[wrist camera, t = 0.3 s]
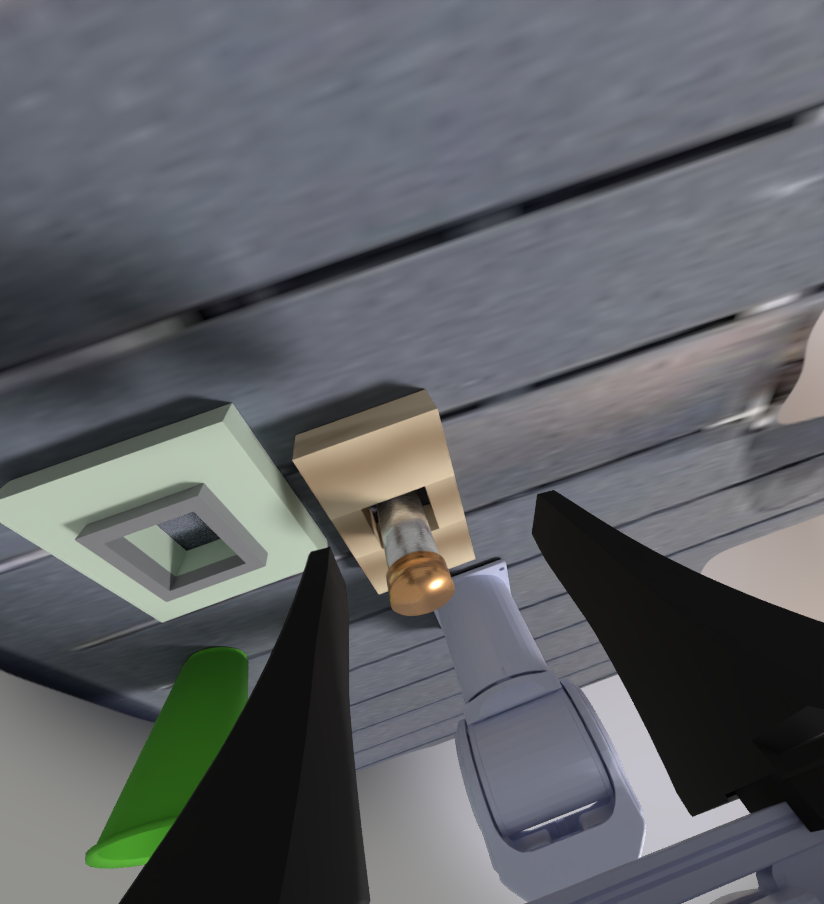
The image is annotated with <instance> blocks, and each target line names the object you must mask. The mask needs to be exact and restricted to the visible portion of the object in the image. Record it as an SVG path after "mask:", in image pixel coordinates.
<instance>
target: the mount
mask: <svg viewBox="0 0 824 904" xmlns="http://www.w3.org/2000/svg"><path fill="white" fill-rule="evenodd" d="M292 461H293V462H294V464H295V465H296V467H297V468H298V470H299V472H300V473H301V475H302V476H303V478H304V479H305V481H306V482H307V484H308V486H309V487H310V489H311V490H312V492H313V493H314V495H315V496H316V498H317V499H318V501H319V503H320V504H321V506H322V507H323V509H324V510H325V512H326V513H327V515H328V517H329V518H330V520H331V521H332V523H333V524H334V526H335V527H336V529H337V531H338V532H339V534H340V535H341V537H342V538H343V540H344V541H345V543H346V545H347V546H348V548H349V549H350V551H351V552H352V554H353V555H354V557H355V558H356V560H357V562H358V563H359V565H360V566H361V568H362V569H363V571H364V572H365V574H366V576H367V577H368V579H369V580H370V582H371V583H372V585H373V586H374V588H375V590H376V591H377V593H378V594H382V593H384V592H387V591H388V587H387V581H386V573H387V571H388V566H387V561H386V556H385V550H384V545H383V540H382V534H381V529H380V524H379V522H378V523H377V522H376V520H375V518H374V516H373V514H372V512H371V510H370V508H369V506H372V505H374V504H377V503H380V502H383V501H385V500H388V499H391V498H394V497H396V496H399V495H402V494H405V493H407V492H410V491H413V490H416V489H419V488H421V487H424V488H425V491H426V494H427V496H428V499H429V502H430V504H428V505H425V506H422V507H423V510H424V513H425V516H426V518H427V521H428V524H429V527H430V530H431V533H432V535H433V538H434V541H435V544H436V547H437V550H438V552H439V555H441V556H442V557H443V558H444V559H445V561H446V564H447V567H448V569H450V568H452V567H455V566H458V565H460V564H463V563H466V562H469V561H471V560H474V559H475V555H474V551H473V547H472V543H471V540H470V536H469V532H468V528H467V524H466V520H465V516H464V512H463V508H462V504H461V500H460V496H459V492H458V488H457V484H456V480H455V476H454V472H453V468H452V464H451V460H450V456H449V452H448V448H447V444H446V440H445V436H444V433H443V429H442V425H441V421H440V417H439V413H438V409H437V407H436V405H435V404H434V402H433V401H432V399H431V397H430V396H429V394H428V393H427V391H426V389H425V390H422V391H419V392H416V393H413V394H411V395H408V396H405V397H402V398H399V399H397V400H394V401H391V402H388V403H385V404H382V405H380V406H377V407H374V408H371V409H368V410H366V411H363V412H360V413H357V414H354V415H351V416H349V417H346V418H343V419H340V420H337V421H335V422H332V423H329V424H326V425H323V426H320V427H318V428H315V429H312V430H309V431H306V432H304V433H301V434H298V435H296V436H295V443H294V451H293V458H292Z"/></svg>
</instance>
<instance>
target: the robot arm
mask: <svg viewBox="0 0 824 904" xmlns="http://www.w3.org/2000/svg"><path fill="white" fill-rule="evenodd" d="M532 535H533V537H534V539H535V541H536V543H537V545H538V547H539V549H540V551H541V552H542V554H543V556H544V558H545V560H546V561H547V563H548V564H549V566H550V567H551V569H552V570H553V572H554V573H555V575H556V576H557V578H558V579H559V581H560V582H561V583H562V585H563V586H564V588H565V589H566V591H567V592H568V593H569V595H570V596H571V598H572V599H573V601H574V602H575V604H576V605H577V606H578V608H579V609H580V611H581V612H582V614H583V615H584V617H585V618H586V620H587V621H588V623H589V624H590V626H591V627H592V629H593V630H594V632H595V634H596V635H597V637H598V639H599V641H600V643H601V644H602V646H603V648H604V650H605V651H606V653H607V655H608V657H609V658H610V660H611V662H612V664H613V666H614V667H615V669H616V671H617V673H618V675H619V677H620V678H621V680H622V682H623V684H624V686H625V688H626V689H627V691H628V693H629V695H630V697H631V699H632V701H633V703H634V705H635V707H636V709H637V711H638V713H639V715H640V717H641V719H642V721H643V723H644V725H645V727H646V729H647V730H648V733H649V734H650V737H651V739H652V741H653V743H654V745H655V747H656V749H657V752H658V754H659V756H660V758H661V760H662V762H663V764H664V766H665V768H666V770H667V772H668V775H669V777H670V779H671V781H672V784H673V786H674V788H675V790H676V793H677V794H678V796H679V797H680V799H681V801H682V802H683V804H684V805H685V807H686V808H687V810H688V812H689V813H690V815H692V817H693V816H696V815H698V814H701V813H703V812H706V811H709V810H711V809H714V808H716V807H719V806H721V805H724V804H726V803H729V802H732V801H734V800H737V799H740V800H741V801H742V803H743V804H744V805H745V807H746V808H747V810H748V811H749V812H750V814H749V815H746V816H744V817H741V818H738V819H736V820H734V821H731V822H729V823H726V824H724V825H721V826H718V827H716V828H713V829H711V830H708V831H706V832H703V833H701V834H698V835H696V836H693V837H691V838H688V839H686V840H683V841H681V842H678V843H676V844H674V845H671V846H668V847H666V848H664V849H661V850H658V851H656V852H653V853H651V854H648V855H646V856H643V857H641V855H642V850H643V846H644V842H645V836H646V823H645V821H644V819H643V810H642V807H641V805H640V803H639V801H638V799H637V797H636V795H635V793H634V791H633V790H632V787H631V785H630V784H629V781H628V779H627V777H626V774H625V771H624V768H623V766H622V763H621V760H620V758H619V756H618V754H617V752H616V750H615V747H614V745H613V743H612V741H611V739H610V737H609V735H608V733H607V731H606V729H605V728H604V726H603V724H602V722H601V720H600V719H599V717H598V715H597V713H596V712H595V710H594V708H593V707H592V705H591V703H590V702H589V700H588V699H587V697H586V696H585V694H584V693H583V692H582V690H581V689H580V688H579V687H578V686H577V685H576V684H574V683H572V682H570V681H569V680H568V679H563V680H561V681H560V682H559V680H558V678H557V676H556V674H555V672H554V670H549V669H548V667H547V665H546V663H545V661H544V659H543V657H542V655H541V653H540V651H539V649H538V647H537V645H536V643H535V641H534V639H533V637H532V635H531V633H530V631H529V629H528V627H527V625H526V623H525V622H524V620H523V618H522V616H521V614H520V612H519V610H518V608H517V606H516V604H515V602H514V600H513V598H512V596H511V593H510V586H509V580H508V573H507V567H506V563H505V561H504V560H497V561H495V562H492V563H489V564H487V565H484V566H481V567H478V568H476V569H473V570H470V571H468V572H465V573H462V574H459V575H457V576H454V577H451V578H452V580H453V583H454V586H455V591H454V594H453V596H452V598H451V599H450V600H449V601H448V602H447V603H446V604H445V605H443V606H442V607H440V608H439V609H437V610H435V611H434V613H435V615H436V617H437V619H438V622H439V624H440V626H441V628H442V630H443V632H444V634H445V637H446V641H447V644H448V647H449V651H450V654H451V657H452V661H453V664H454V667H455V671H456V674H457V678H458V681H459V684H460V688H461V691H462V694H463V698H464V701H465V704H464V705H462V709H463V713H464V716H465V719H463V720H460V721H459V722H458V728H457V731H456V734H455V742H456V750H457V755H458V760H459V765H460V769H461V773H462V777H463V781H464V785H465V788H466V792H467V795H468V798H469V801H470V804H471V807H472V810H473V813H474V816H475V818H476V821H477V823H478V825H479V827H480V829H481V831H482V834H483V837H484V840H485V843H486V846H487V849H488V852H489V856H490V859H491V862H492V866H493V868H494V870H495V871H496V872H497V873H498V874H499V877H500V880H501V882H502V883H503V884H504V885H505V886H506V887H507V888H508V889H509V890H511V891H512V892H514V893H515V894H517V895H518V896H519V897H521V898H522V899H524V900H525V901H527V902H528V903H525V904H681V903H684V902H686V901H688V900H691V899H693V898H695V897H698V896H700V895H702V894H705V893H707V892H709V891H712V890H714V889H716V888H719V887H721V886H724V885H726V884H729V883H731V882H733V881H735V880H738V879H740V878H743V877H745V876H747V875H750V874H752V873H754V872H756V877H757V880H758V884H759V887H758V889H751V890H745V891H740V892H735V893H731V894H728V895H726V896H723V897H720V898H718V899H716V900H715V901H713V902H712V903H710V904H824V623H823V622H820V621H817V620H814V619H811V618H809V617H806V616H803V615H801V614H798V613H795V612H792V611H789V610H787V609H784V608H782V607H779V606H776V605H774V604H771V603H768V602H766V601H763V600H761V599H758V598H755V597H753V596H750V595H748V594H746V593H743V592H741V591H739V590H736V589H734V588H731V587H729V586H727V585H724V584H722V583H720V582H717V581H715V580H713V579H711V578H708V577H706V576H704V575H702V574H699V573H697V572H695V571H693V570H691V569H689V568H687V567H685V566H683V565H681V564H679V563H677V562H675V561H673V560H671V559H669V558H667V557H665V556H663V555H661V554H659V553H657V552H655V551H653V550H652V549H650V548H648V547H646V546H644V545H642V544H641V543H639V542H637V541H635V540H633V539H632V538H630V537H628V536H627V535H625V534H623V533H621V532H620V531H618V530H616V529H615V528H613V527H611V526H610V525H608V524H606V523H605V522H603V521H602V520H600V519H598V518H597V517H595V516H594V515H592V514H590V513H589V512H587V511H586V510H584V509H583V508H581V507H580V506H578V505H576V504H575V503H573V502H572V501H570V500H569V499H567V498H566V497H564V496H562V495H561V494H559V493H558V492H556V491H554V490H552V491H548V492H544V493H540V494H537V500H536V507H535V514H534V521H533V528H532ZM596 801H597V802H596ZM594 802H596V803H595V804H593V805H592V806H591V807H589V808H587V809H584V810H581V811H579V812H576V813H574V814H571V815H569V816H566V817H564V818H561V819H559V820H556V821H553V822H551V823H548V824H546V825H543V826H541V827H538V828H536V829H533V830H530V831H523V830H525V829H528V828H530V827H533V826H536V825H538V824H540V823H543V822H546V821H548V820H551V819H553V818H555V817H558V816H561V815H563V814H566V813H569V812H571V811H574V810H576V809H579V808H581V807H583V806H586V805H589V804H591V803H594ZM369 903H370V894H369V886H368V879H367V870H366V862H365V854H364V845H363V837H362V828H361V819H360V810H359V801H358V792H357V782H356V771H355V761H354V751H353V740H352V728H351V717H350V702H349V613H348V603H347V595H346V586H345V582H344V579H343V577H342V574H341V572H340V570H339V567H338V565H337V562H336V560H335V558H334V555H333V553H332V550H331V548H330V547H327V548H323V549H319V550H315V551H311V552H310V554H309V555H308V559H307V562H306V565H305V569H304V572H303V575H302V578H301V581H300V584H299V586H298V589H297V592H296V595H295V598H294V600H293V603H292V605H291V608H290V610H289V613H288V616H287V618H286V621H285V623H284V626H283V628H282V630H281V632H280V635H279V637H278V639H277V641H276V644H275V646H274V648H273V650H272V653H271V655H270V657H269V659H268V661H267V664H266V666H265V668H264V670H263V672H262V674H261V676H260V678H259V680H258V682H257V684H256V686H255V688H254V690H253V691H252V693H251V695H250V697H249V699H248V701H247V703H246V705H245V707H244V708H243V710H242V712H241V714H240V716H239V717H238V719H237V721H236V723H235V724H234V726H233V728H232V730H231V732H230V733H229V735H228V737H227V739H226V740H225V742H224V744H223V745H222V747H221V749H220V751H219V752H218V754H217V756H216V757H215V759H214V760H213V762H212V764H211V765H210V767H209V768H208V770H207V772H206V773H205V775H204V776H203V778H202V780H201V781H200V783H199V784H198V786H197V788H196V789H195V791H194V792H193V794H192V795H191V797H190V799H189V800H188V802H187V803H186V805H185V807H184V808H183V810H182V811H181V813H180V814H179V816H178V817H177V819H176V820H175V822H174V823H173V825H172V827H171V828H170V829H169V831H168V832H167V834H166V835H165V837H164V838H163V840H162V841H161V843H160V844H159V846H158V847H157V848H156V850H155V851H154V853H153V854H152V856H151V857H150V859H149V860H148V862H147V863H146V864H145V866H144V867H143V869H142V870H141V872H140V873H139V875H138V876H137V878H136V879H135V881H134V882H133V883H132V885H131V886H130V888H129V889H128V891H127V892H126V894H125V895H124V897H123V898H122V899H121V901H120V902H119V904H369Z"/></svg>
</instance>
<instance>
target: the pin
mask: <svg viewBox="0 0 824 904" xmlns="http://www.w3.org/2000/svg"><path fill="white" fill-rule="evenodd" d="M376 508H377V513H378V519H379V524H380V529H381V534H382V540H383V545H384V550H385V556H386V561H387V566H388V571H387V573H386V581H387V587H388V592H389V598H390V603H391V607H392V609H393V610H394V611H395V612H397V613H398V614H401V615H406V616H417V615H423V614H427V613H430V612H432V611H435V610H437V609H439V608H440V607H442V606H443V605H445V604H446V603H447V602H448V601H449V600H450V599H451V598H452V596H453V594H454V591H455V586H454V583H453V580H452V578H451V575H450V572H449V570H448V567H447V564H446V561H445V559H444V558H443V557H442V556H441V555H439V552H438V550H437V547H436V544H435V541H434V538H433V535H432V533H431V530H430V527H429V524H428V521H427V518H426V516H425V513H424V510H423V507H422V504H421V501H420V499H419V496H418V493H417V490H413V491H410V492H407V493H405V494H402V495H399V496H396V497H394V498H391V499H388V500H385V501H383V502H380V503H377V504H376Z"/></svg>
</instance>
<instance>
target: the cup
mask: <svg viewBox="0 0 824 904" xmlns="http://www.w3.org/2000/svg"><path fill="white" fill-rule="evenodd" d="M247 701H248V660H247V656H246V655H245V653H244V652H242V651H241V650H238V649H235V648H230V647H214V648H208V649H205V650H201V651H199V652H196V653H195V654H193V655H192V656H190V658H189V659H188V661H186V663H185V664H184V665H183V667H182V669H181V671H180V673H179V675H178V677H177V679H176V681H175V683H174V685H173V687H172V689H171V691H170V694H169V696H168V698H167V700H166V702H165V704H164V706H163V708H162V710H161V712H160V714H159V716H158V718H157V720H156V722H155V724H154V727H153V729H152V731H151V733H150V735H149V737H148V739H147V741H146V743H145V745H144V747H143V749H142V751H141V753H140V756H139V758H138V760H137V762H136V764H135V766H134V768H133V770H132V772H131V774H130V776H129V778H128V780H127V782H126V784H125V786H124V788H123V791H122V793H121V795H120V797H119V799H118V801H117V803H116V805H115V807H114V809H113V811H112V813H111V816H110V817H109V819H108V822H107V824H106V826H105V828H104V830H103V832H102V834H101V836H100V838H99V840H98V842H97V844H96V845H94V846H93V847H92V848H91V849H89V850H88V851H87V853H86V857H85V861H86V864H87V865H88V866H90V867H95V868H123V867H132V866H139V865H145V864H146V863H147V862H148V860H149V859H150V857H151V856H152V854H153V853H154V851H155V850H156V848H157V847H158V846H159V844H160V843H161V841H162V840H163V838H164V837H165V835H166V834H167V832H168V831H169V829H170V828H171V827H172V825H173V823H174V822H175V820H176V819H177V817H178V816H179V814H180V813H181V811H182V810H183V808H184V807H185V805H186V803H187V802H188V800H189V799H190V797H191V795H192V794H193V792H194V791H195V789H196V788H197V786H198V784H199V783H200V781H201V780H202V778H203V776H204V775H205V773H206V772H207V770H208V768H209V767H210V765H211V764H212V762H213V760H214V759H215V757H216V756H217V754H218V752H219V751H220V749H221V747H222V745H223V744H224V742H225V740H226V739H227V737H228V735H229V733H230V732H231V730H232V728H233V726H234V724H235V723H236V721H237V719H238V717H239V716H240V714H241V712H242V710H243V708H244V707H245V705H246V703H247Z"/></svg>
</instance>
